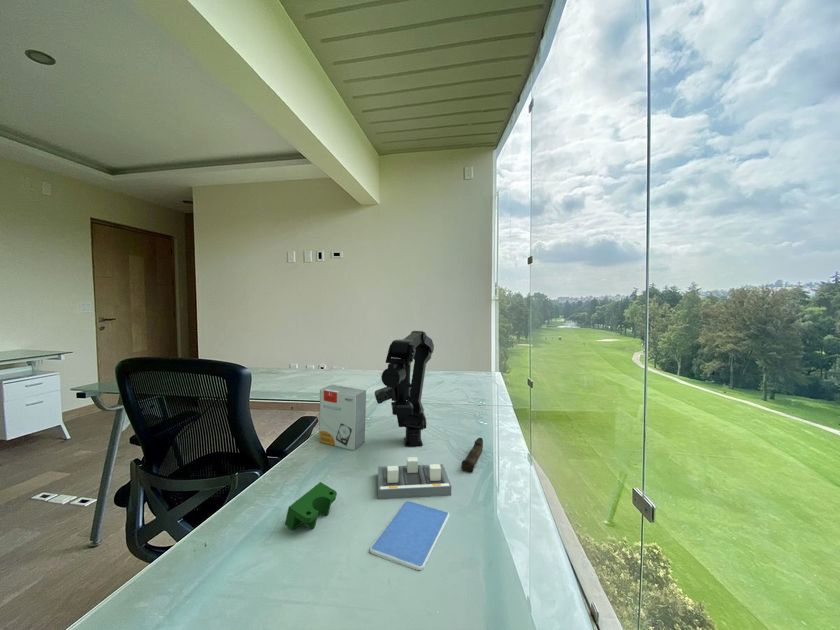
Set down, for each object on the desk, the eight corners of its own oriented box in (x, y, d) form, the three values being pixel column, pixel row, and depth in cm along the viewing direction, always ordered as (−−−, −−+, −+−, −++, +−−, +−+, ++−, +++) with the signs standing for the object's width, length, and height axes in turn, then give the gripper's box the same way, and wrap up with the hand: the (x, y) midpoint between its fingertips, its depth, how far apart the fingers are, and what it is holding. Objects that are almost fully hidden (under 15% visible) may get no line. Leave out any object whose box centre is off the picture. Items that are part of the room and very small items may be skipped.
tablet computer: (405, 503, 89) (405, 498, 89) (450, 516, 84) (450, 511, 84) (367, 554, 71) (367, 549, 71) (422, 575, 66) (422, 568, 66)
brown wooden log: (473, 474, 103) (473, 460, 103) (460, 471, 105) (461, 457, 105) (488, 450, 120) (489, 437, 120) (478, 447, 122) (478, 435, 122)
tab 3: (428, 476, 96) (429, 464, 96) (439, 475, 96) (439, 464, 96) (430, 480, 94) (430, 468, 93) (440, 480, 94) (441, 468, 94)
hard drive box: (318, 442, 122) (318, 389, 120) (331, 434, 129) (331, 384, 127) (354, 451, 116) (355, 395, 114) (366, 442, 123) (366, 389, 122)
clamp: (306, 548, 77) (303, 527, 73) (287, 534, 79) (282, 513, 75) (339, 503, 87) (338, 482, 82) (321, 492, 89) (319, 471, 84)
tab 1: (387, 478, 94) (387, 466, 94) (397, 477, 95) (398, 465, 95) (387, 483, 92) (387, 470, 92) (398, 482, 92) (398, 470, 92)
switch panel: (378, 474, 101) (378, 464, 101) (442, 471, 104) (442, 462, 104) (378, 499, 89) (378, 487, 89) (451, 495, 92) (451, 484, 92)
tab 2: (406, 468, 100) (407, 457, 100) (416, 468, 100) (417, 457, 100) (407, 473, 97) (407, 461, 97) (417, 472, 98) (417, 461, 98)
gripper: (376, 372, 115) (375, 416, 116) (376, 387, 97) (375, 439, 98) (408, 372, 117) (407, 415, 118) (414, 387, 98) (412, 438, 99)
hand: (400, 426), depth 108 cm, fingers closed
